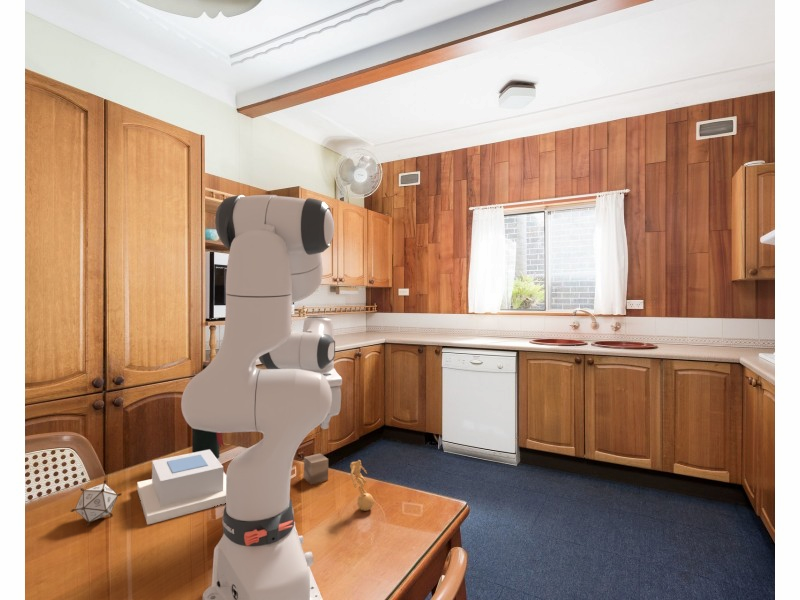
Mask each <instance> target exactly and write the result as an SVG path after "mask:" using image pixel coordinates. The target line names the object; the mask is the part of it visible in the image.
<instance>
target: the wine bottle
mask: <svg viewBox="0 0 800 600" xmlns="http://www.w3.org/2000/svg"><path fill="white" fill-rule="evenodd" d="M211 362H212V361H210V360H204V361H202V371H203V370H204V369H205V368H206V367H207V366H208V365H209V364H210V363H211ZM191 437H192V444H191V445H192V447H191V450H192V451H191V453H194V452H199V451H204V450H209V449H210V450H211V452H212V453H213V454H214V455H215V457H216V458H217V459H218V460H219V458H220V448H221V446H223V447H224V442H223V439H222V433H218V432H211V431H204V430H199V429H193V428H192V436H191Z"/></svg>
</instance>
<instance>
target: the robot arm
mask: <svg viewBox="0 0 800 600" xmlns="http://www.w3.org/2000/svg"><path fill="white" fill-rule="evenodd" d="M215 230H216V234H217V236H218V238H219V241H220V242H221V243H222V245H223V246H224V247H225V248H226V249H227V250H228V251H229V253H228V259H227V263H226V265H227V266H226V274H225V277H226V278H225V315H224V316H225V319H224V330H223V331H224V332H223V338H222V342H221V344H220V346H219V350H218V351H217V353H216V354H215V356H214V358H213V359H212V361H211V362H210V364H209V365H208V366H207V367H206V368H205V369H204V370H203V369H202V370H201V371H200V372H198V373H197V374H196V375H194V376H193V377H192V378H191V379H190V380H189V381H188V383H187V385H186V386H185V388H184V389H183V393H182V395H181V401H180V402H181V403H180V408H181V413H182V416H183V418H184V421H185V422H186V423H187V424H188V425H189V427H191V429H192V430H193V429H199V430H204V431H211V432H218V433H221V434H222V433H248V432H251V433H252V432H258V433H262V436H263V437H262V439H260V441H259V442H257V443H256V444H254V445H252V446H249V447H248V448H246V449H244V450H242V451H240V452H238V454H237V455H236V456H234V457H233V459H231V461H230V462H229V464H228V466H227V469H226V473H225V474H226V504H225V506H224V508H223V512H222V513H223V515H222V520H221V521H222V531H223V534H222V537H221V538H220V540H219V542H218V543H217V544H216V545H215V547H214V548H213V549H214V550H213V560H212V561H213V563H212V575H211V576H212V579H211V585H209V586H208V588H206V589H205V590H204V592H203V594H202V597H201V598H202V599H201V600H324V599H323V597H322V595H321V592H320V589H319V586H318V584H317V582H316V579H315V577H314V574H313V573H312V570H311V567H312V566H313V565H314V556H313V552H312V551H306V552H305V551H304V550H303V546H302V544H303V543H304V535H302V534H301V535H299V534H298V531H297V528H296V522H295V517H294V515H295V512H294V507H293V502H292V498H290V494H291V493H290V492H291V478H292V470H293V469H292V467H293V461H294V459H295V456H296V453H297V452H298V451H297V450H298V449H299V446H300V445H301V444H302V442H303V441H304V440H305V438H306V437H307V436H308V435H309V434H310V433H311V432H312V431H313V430H314V429H316V428H317V427H318V426H320V428H321V429H322V430H326V429H327V430H328V429H329V427H330V421H331V418H332V417H334V416H338V415H339V414H340V412H341V402H342V390H341V387H340V386H342V385H343V378H342V376H341V375H340V374H339V373H338V372H337V370H336V368H335V361H334V359H335V358H336V357H335V356H336V341H335V333H334V332H335V331H334V324H333V319H331V318H329V317H326V316H314V315H313V316H308V317H307V316H306V317H305V319H304V321H303V326H302V331H292V329H293V327H292V325H293V323H292V321H293V320H292V317H293V313H292V312H293V311H292V310H293V308H292V305H293V303H296V302H300V301H303V300H304V299H306V298H308V297H310V296H311V295H312V294H314V293H315V292H316V291H317V289H318V288H319V287H320V285H321V283H322V281H323V273H324V272H323V270H324V269H323V259H322V253H323V252H325V251H326V250H327V249H328V248H330V247H331V244H332V240H333V237H334V234H335V222H334V217H333V214H332V210H331V208H330V207H329V206H328V204H327V203H326V202H324V201H323V200H319V199H315V198H310V197H308V198H301V197H293V196H283V195H282V196H281V195H277V194H257V195H256V194H255V195H246V196H245V195H244V194H239V195H233V196H228V197H226V198H224V199H223V201H221V203H220V204H219V206H218V207H217V208H216V212H215ZM257 360H259V362H260V363H261V364H262V365H263V366H264V368H263V369H261V368H258V367H257V362H256V361H257Z"/></svg>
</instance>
